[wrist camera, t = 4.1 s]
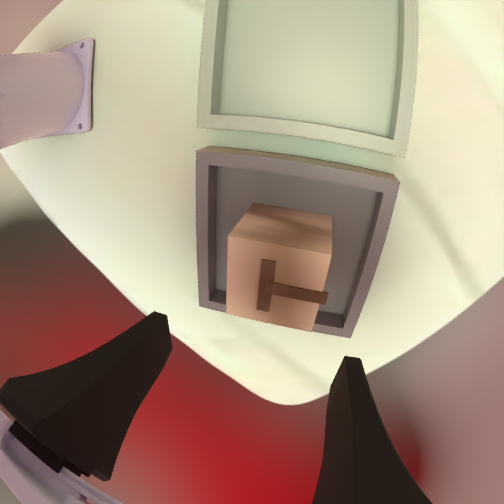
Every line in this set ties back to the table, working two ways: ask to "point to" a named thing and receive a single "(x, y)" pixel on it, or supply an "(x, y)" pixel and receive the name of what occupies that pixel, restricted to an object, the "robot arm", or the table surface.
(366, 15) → the sage tray
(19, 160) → the table surface
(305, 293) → the letter cube
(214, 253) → the charcoal tray
